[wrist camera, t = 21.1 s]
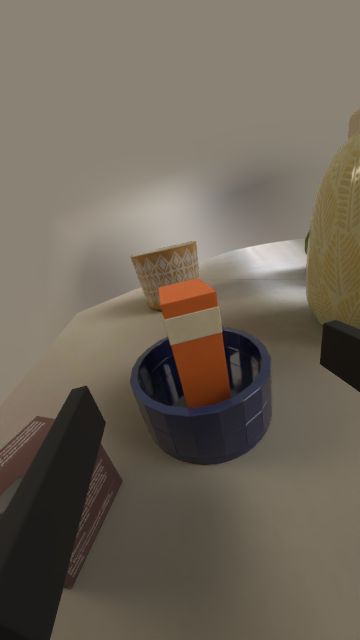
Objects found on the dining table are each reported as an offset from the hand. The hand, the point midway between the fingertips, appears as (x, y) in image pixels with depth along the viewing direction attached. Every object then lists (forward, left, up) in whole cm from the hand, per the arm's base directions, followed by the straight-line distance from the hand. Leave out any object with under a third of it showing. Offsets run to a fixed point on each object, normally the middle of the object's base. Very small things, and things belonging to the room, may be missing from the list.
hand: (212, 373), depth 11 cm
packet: (0, +9, -10) cm, 14 cm away
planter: (+1, +51, -11) cm, 52 cm away
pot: (0, +9, -11) cm, 14 cm away
